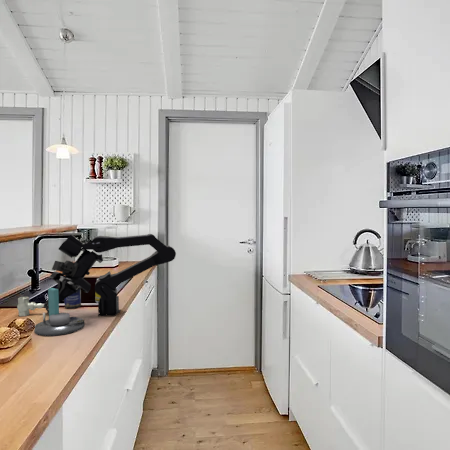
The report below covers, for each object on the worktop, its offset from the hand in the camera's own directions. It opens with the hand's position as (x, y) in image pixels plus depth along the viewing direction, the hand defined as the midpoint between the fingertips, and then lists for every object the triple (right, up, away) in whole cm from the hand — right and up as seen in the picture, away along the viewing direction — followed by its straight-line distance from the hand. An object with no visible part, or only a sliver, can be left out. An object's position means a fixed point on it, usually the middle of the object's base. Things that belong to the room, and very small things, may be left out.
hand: (54, 302), depth 122 cm
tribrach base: (+4, -8, -4) cm, 9 cm away
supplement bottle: (+6, -6, +30) cm, 32 cm away
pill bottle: (-3, -7, +23) cm, 24 cm away
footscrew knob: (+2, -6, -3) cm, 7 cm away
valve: (-13, -7, +13) cm, 20 cm away
